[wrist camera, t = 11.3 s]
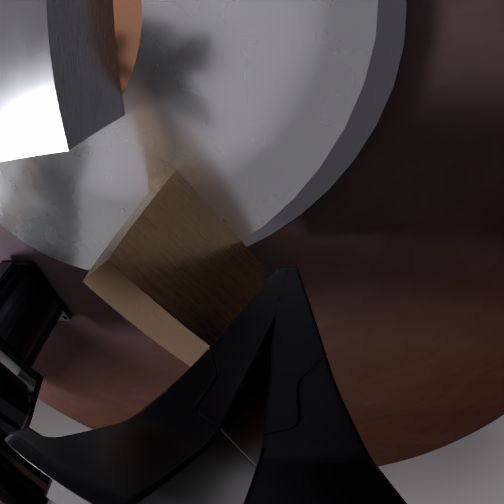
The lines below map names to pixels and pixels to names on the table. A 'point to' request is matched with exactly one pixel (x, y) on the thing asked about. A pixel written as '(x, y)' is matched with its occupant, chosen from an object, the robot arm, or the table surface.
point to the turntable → (195, 155)
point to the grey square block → (56, 74)
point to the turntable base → (353, 116)
